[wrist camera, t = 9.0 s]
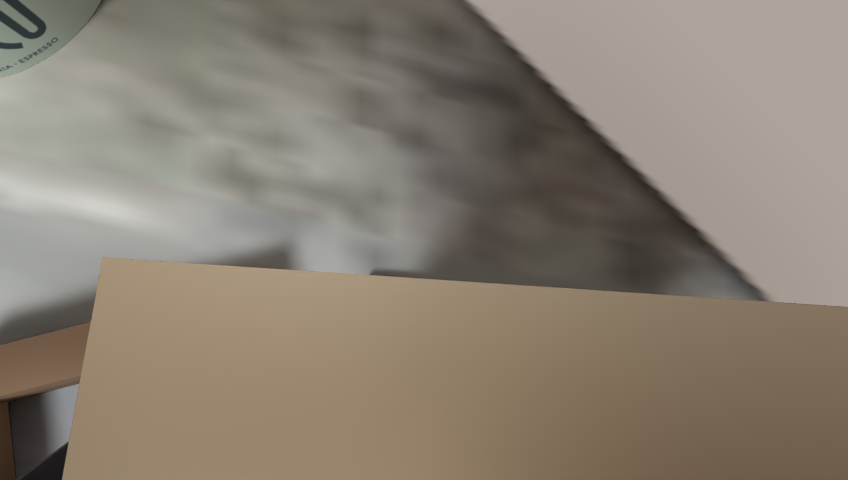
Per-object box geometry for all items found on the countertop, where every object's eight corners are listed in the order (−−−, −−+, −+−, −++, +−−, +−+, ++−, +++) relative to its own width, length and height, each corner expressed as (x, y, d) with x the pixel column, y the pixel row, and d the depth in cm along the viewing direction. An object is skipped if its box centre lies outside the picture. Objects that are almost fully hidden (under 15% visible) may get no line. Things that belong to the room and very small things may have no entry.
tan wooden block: (581, 485, 17) (1195, 1040, 3) (359, 467, 17) (-14, 886, 3) (584, 357, 17) (1090, 322, 4) (370, 341, 18) (103, 258, 4)
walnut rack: (305, 536, 17) (290, 552, 15) (-6, 617, 17) (-53, 643, 15) (257, 290, 19) (239, 283, 17) (-29, 364, 18) (-73, 363, 17)
